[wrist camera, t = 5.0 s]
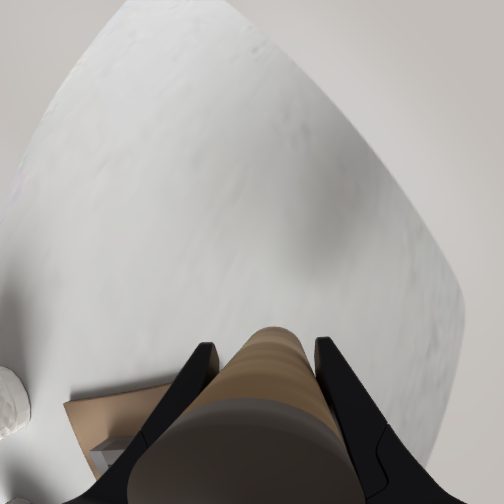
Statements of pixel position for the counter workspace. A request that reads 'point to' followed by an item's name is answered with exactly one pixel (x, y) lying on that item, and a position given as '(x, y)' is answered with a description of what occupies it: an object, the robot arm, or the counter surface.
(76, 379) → the counter surface
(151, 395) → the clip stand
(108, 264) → the counter surface
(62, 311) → the counter surface
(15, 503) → the coffee mug
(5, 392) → the white cup
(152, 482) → the wooden peg
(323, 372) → the robot arm
